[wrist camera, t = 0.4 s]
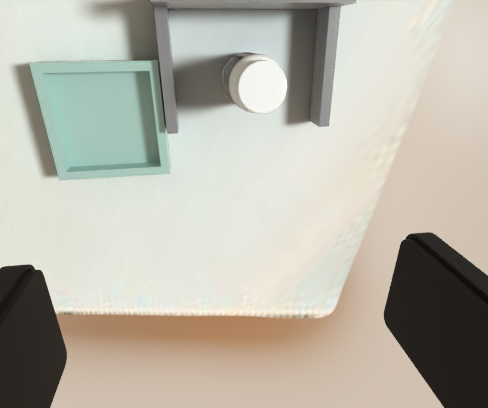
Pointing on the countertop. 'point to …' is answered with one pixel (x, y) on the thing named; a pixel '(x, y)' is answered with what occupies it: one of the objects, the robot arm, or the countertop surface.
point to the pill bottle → (254, 82)
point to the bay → (326, 3)
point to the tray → (103, 117)
